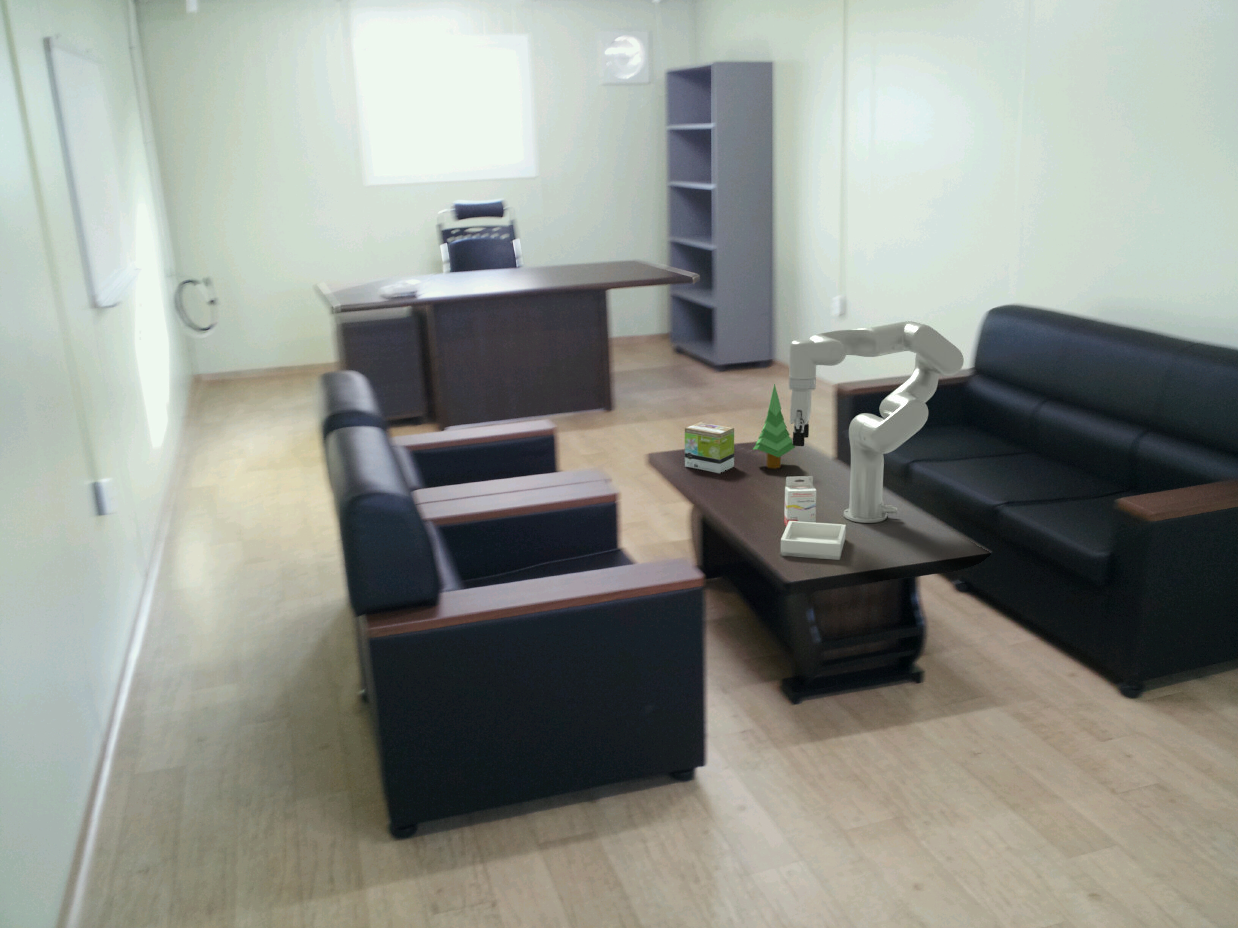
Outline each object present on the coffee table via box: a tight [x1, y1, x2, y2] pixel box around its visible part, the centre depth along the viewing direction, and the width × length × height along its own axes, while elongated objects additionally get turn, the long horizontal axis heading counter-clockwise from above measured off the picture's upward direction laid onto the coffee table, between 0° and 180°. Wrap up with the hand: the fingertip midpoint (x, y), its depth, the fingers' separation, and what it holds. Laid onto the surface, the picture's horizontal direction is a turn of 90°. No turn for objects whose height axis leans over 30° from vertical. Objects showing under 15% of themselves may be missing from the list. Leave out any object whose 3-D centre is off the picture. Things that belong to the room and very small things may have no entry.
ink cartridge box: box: [783, 475, 817, 528], centre depth 305 cm, size 9×5×15 cm, turn 92°
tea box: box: [684, 421, 735, 474], centre depth 366 cm, size 15×10×15 cm, turn 53°
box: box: [780, 521, 847, 561], centre depth 289 cm, size 16×16×4 cm
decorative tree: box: [752, 383, 796, 469], centre depth 362 cm, size 14×16×30 cm
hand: (800, 441), depth 300 cm, fingers open, 9 cm apart
